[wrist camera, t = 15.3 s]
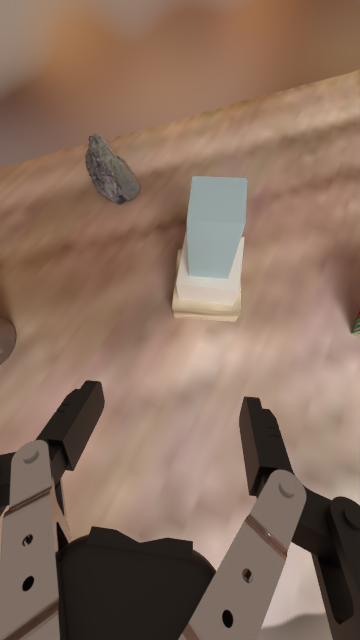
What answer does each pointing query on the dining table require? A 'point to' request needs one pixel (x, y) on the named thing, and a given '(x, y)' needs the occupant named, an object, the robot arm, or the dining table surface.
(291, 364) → the dining table surface
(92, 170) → the mineral rock
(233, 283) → the tower top slab
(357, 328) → the stack of blocks
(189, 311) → the tower bottom slab
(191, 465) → the dining table surface
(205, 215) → the pillar block
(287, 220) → the dining table surface
